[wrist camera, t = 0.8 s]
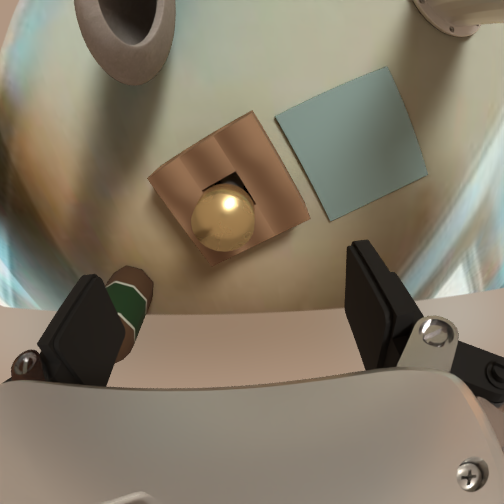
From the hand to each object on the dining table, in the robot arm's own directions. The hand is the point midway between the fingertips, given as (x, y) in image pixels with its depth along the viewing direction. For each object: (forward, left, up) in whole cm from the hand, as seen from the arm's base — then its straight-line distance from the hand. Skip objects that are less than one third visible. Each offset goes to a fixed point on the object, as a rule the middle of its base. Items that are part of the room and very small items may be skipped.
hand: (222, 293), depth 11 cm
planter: (+1, -20, -30) cm, 36 cm away
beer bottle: (+28, +10, -30) cm, 42 cm away
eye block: (+5, +4, -29) cm, 30 cm away
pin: (+5, +4, -29) cm, 30 cm away
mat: (-12, +7, -29) cm, 33 cm away
